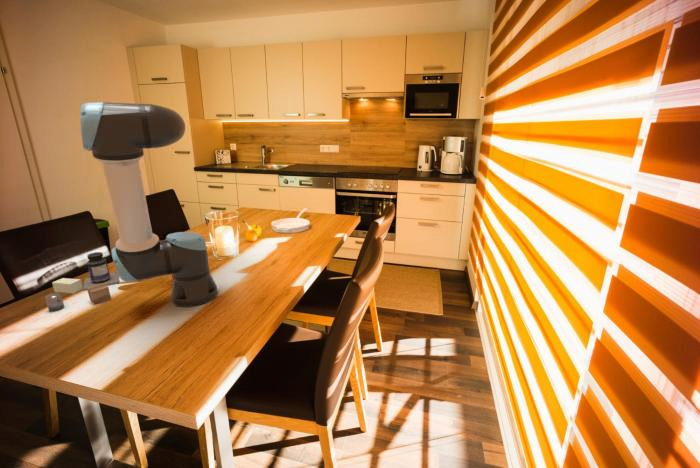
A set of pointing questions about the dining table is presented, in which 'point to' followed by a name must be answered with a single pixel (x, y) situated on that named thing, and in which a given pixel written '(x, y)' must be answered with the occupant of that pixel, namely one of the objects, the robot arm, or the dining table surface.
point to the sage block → (67, 285)
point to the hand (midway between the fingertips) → (134, 202)
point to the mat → (113, 280)
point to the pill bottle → (98, 268)
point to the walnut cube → (99, 293)
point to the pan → (291, 224)
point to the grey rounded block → (54, 302)
